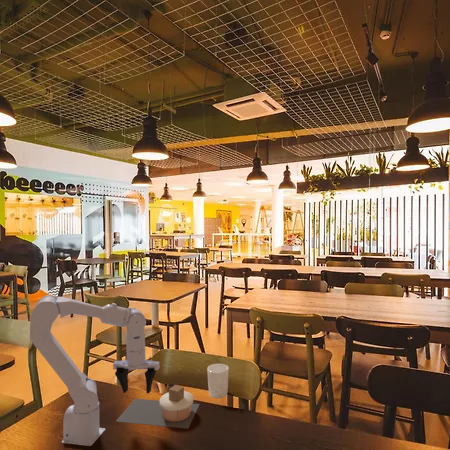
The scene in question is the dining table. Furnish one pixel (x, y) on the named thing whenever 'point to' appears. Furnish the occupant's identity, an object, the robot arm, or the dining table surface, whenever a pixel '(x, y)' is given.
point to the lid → (176, 399)
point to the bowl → (176, 415)
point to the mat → (152, 414)
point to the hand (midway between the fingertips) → (137, 391)
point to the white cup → (217, 380)
